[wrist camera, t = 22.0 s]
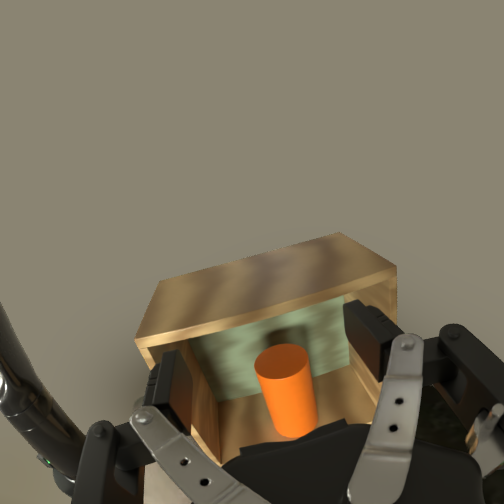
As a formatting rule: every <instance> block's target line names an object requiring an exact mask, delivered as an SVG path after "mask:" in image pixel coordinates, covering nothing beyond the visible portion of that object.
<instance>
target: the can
mask: <svg viewBox="0 0 504 504" xmlns="http://www.w3.org/2000/svg"><path fill="white" fill-rule="evenodd" d="M254 369H255V372H256V375H257V378H258V381H259V384H260V387H261V390H262V393H263V395H264V398H265V401H266V404H267V407H268V410H269V413H270V415H271V418H272V421H273V424H274V426H275V429H276V430H277V432H278V433H279V434H281V435H283V436H286V437H291V438H296V437H301V436H304V435H306V434H307V433H309V432H311V431H312V430H313V429H314V428H315V426H316V425H317V422H318V413H317V406H316V400H315V394H314V387H313V381H312V375H311V370H310V364H309V358H308V354H307V352H306V350H305V349H304V348H302V347H301V346H298V345H295V344H279V345H275V346H272V347H270V348H268V349H266V350H264V351H263V352H262V353H260V354H259V355H258V357H257V358H256V360H255V363H254Z"/></svg>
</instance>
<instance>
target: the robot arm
mask: <svg viewBox="0 0 504 504" xmlns="http://www.w3.org/2000/svg"><path fill="white" fill-rule="evenodd" d="M343 317H344V328H345V334H346V337H347V339H348V341H349V343H350V344H351V345H352V347H353V348H354V350H355V351H356V352H357V354H358V355H359V356H360V358H361V359H362V361H363V362H364V363H365V365H366V366H367V368H368V369H369V370H370V372H371V373H372V375H373V376H374V377H375V379H376V380H377V382H378V383H380V382H382V381H383V383H382V387H381V391H380V395H379V399H378V403H377V407H376V410H375V414H374V417H373V421H372V424H365V423H354V424H347V422H346V420H345V418H343V419H340V420H337V421H335V422H332V423H329V424H326V425H323V426H320V427H318V428H316V429H315V430H313V431H311V432H309V433H307V434H306V435H304V436H302V437H300V438H298V439H296V440H293V441H281V442H264V443H260V444H255V445H250V446H246V447H240V448H239V451H240V455H239V456H236V457H234V458H232V459H231V460H229V461H228V462H226V463H225V464H224V465H222V466H221V467H220V466H219V465H217V464H216V463H215V462H214V461H213V460H211V459H210V458H209V457H208V456H207V455H206V454H205V453H204V452H202V451H201V450H200V449H199V448H198V447H197V446H196V445H195V444H194V443H193V442H192V441H191V440H190V439H188V438H187V437H186V436H190V435H191V421H192V397H193V379H192V375H191V373H190V370H189V368H188V366H187V364H186V362H185V360H184V358H183V356H182V354H181V352H180V350H179V349H176V350H171V351H166V352H163V354H162V358H161V363H157V364H155V366H154V367H153V368H152V370H151V371H150V375H149V380H148V383H147V387H146V391H145V395H144V400H143V404H142V407H140V408H138V409H137V410H135V411H134V412H133V414H132V415H131V417H130V421H129V422H127V423H124V424H121V425H118V426H115V427H114V426H113V425H112V424H111V423H110V422H109V421H105V420H103V421H98V422H96V423H94V424H93V425H92V426H91V427H90V428H89V430H88V432H87V436H85V435H84V434H83V433H82V432H81V431H80V430H79V429H78V427H77V426H76V425H75V424H74V423H73V422H72V421H71V419H70V418H69V417H68V416H67V415H66V413H65V412H64V411H63V410H62V409H61V407H60V406H59V405H58V403H57V402H56V401H55V400H54V398H53V397H52V396H51V394H50V393H49V392H48V390H47V389H46V387H45V386H44V385H43V383H42V382H41V380H40V379H39V378H38V376H37V375H36V373H35V371H34V369H33V366H32V364H31V362H30V360H29V358H28V356H27V355H26V353H25V351H24V349H23V347H22V345H21V344H20V342H19V340H18V338H17V336H16V334H15V332H14V329H13V328H12V325H11V323H10V321H9V318H8V316H7V314H6V312H5V310H4V308H3V306H2V304H1V302H0V372H1V374H0V411H1V412H2V413H3V414H4V416H5V417H6V418H7V420H8V421H9V422H10V423H11V424H12V425H13V426H14V428H15V429H16V430H17V431H18V432H19V433H20V434H21V435H22V436H23V437H24V438H25V439H26V441H28V443H29V444H30V445H31V446H32V447H33V448H34V449H35V450H36V451H37V452H38V455H37V458H38V459H39V460H40V461H41V462H42V463H43V464H45V465H46V466H47V467H49V468H53V469H54V468H55V469H56V470H58V471H59V472H60V473H61V474H63V475H64V476H65V477H66V478H67V479H68V480H69V481H71V482H73V483H75V485H74V490H73V496H72V501H71V504H143V498H144V475H145V465H148V464H151V463H154V462H157V463H158V464H159V465H160V466H161V468H162V469H163V470H164V471H165V472H166V474H167V475H168V476H169V477H170V478H171V479H172V480H173V482H174V483H175V484H176V485H177V486H178V487H179V488H180V489H181V490H182V491H183V493H184V494H185V495H186V496H187V497H188V498H189V499H190V500H191V501H192V503H191V504H485V501H484V497H483V490H482V481H483V480H484V479H486V478H487V477H488V476H490V475H491V474H492V473H493V472H495V471H496V470H497V469H499V470H500V469H504V363H503V362H502V361H501V360H500V359H499V358H498V357H497V356H496V355H495V354H494V353H493V352H492V351H491V350H490V349H488V348H487V347H486V346H485V345H484V344H483V343H482V342H481V341H480V340H479V339H477V338H476V337H475V336H474V335H473V334H472V333H471V332H469V331H468V330H467V329H466V328H465V327H464V326H462V325H459V324H448V325H445V326H444V327H442V328H441V330H440V333H439V337H434V338H430V339H425V340H422V338H421V337H420V336H418V335H415V334H411V333H406V334H405V333H404V332H403V331H402V330H401V329H400V328H399V327H398V326H397V325H396V324H395V323H394V322H393V321H392V320H391V319H389V318H388V317H387V316H386V315H385V314H384V313H383V312H382V311H381V310H380V309H379V308H376V307H374V306H371V305H369V306H365V305H364V304H363V303H362V302H361V301H360V300H359V299H356V300H353V301H350V302H347V303H344V304H343ZM432 384H433V385H434V386H435V388H436V389H437V390H438V392H439V393H440V394H441V396H442V397H443V398H444V400H445V401H446V402H447V404H448V405H449V406H450V408H451V409H452V410H453V412H454V413H455V414H456V416H457V417H458V419H459V420H460V421H461V423H462V424H463V426H464V427H465V428H466V430H467V431H468V433H467V435H466V440H465V441H466V446H467V448H468V452H469V454H468V453H466V452H463V451H459V450H455V449H451V448H447V447H443V446H439V445H436V444H432V443H429V442H425V441H422V440H418V439H415V433H416V428H417V422H418V415H419V408H420V401H421V392H422V387H424V386H428V385H432Z"/></svg>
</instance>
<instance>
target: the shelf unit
mask: <svg viewBox="0 0 504 504" xmlns="http://www.w3.org/2000/svg"><path fill="white" fill-rule="evenodd" d="M396 276H397V268H396V265H394V264H393V263H391V262H389V261H388V260H386V259H385V258H383V257H381V256H380V255H378V254H376V253H374V252H373V251H371V250H370V249H368V248H366V247H364V246H362V245H361V244H359V243H358V242H356V241H354V240H352V239H351V238H349V237H347V236H345V235H344V234H342V233H340V232H338V233H334V234H331V235H327V236H324V237H320V238H316V239H313V240H309V241H305V242H302V243H298V244H295V245H291V246H287V247H284V248H280V249H277V250H273V251H269V252H265V253H262V254H258V255H254V256H251V257H247V258H243V259H240V260H236V261H233V262H229V263H225V264H221V265H218V266H214V267H210V268H207V269H203V270H199V271H196V272H192V273H188V274H184V275H181V276H177V277H174V278H170V279H166V280H162V281H159V283H158V286H157V288H156V290H155V292H154V294H153V296H152V299H151V301H150V303H149V305H148V308H147V310H146V312H145V314H144V317H143V319H142V321H141V324H140V326H139V329H138V331H137V333H136V336H135V338H134V341H135V342H136V344H137V346H138V348H139V350H140V352H141V354H142V356H143V358H144V360H145V361H146V363H147V365H148V367H149V369H150V370H152V368H153V367H154V366H155V364H157V363H161V358H162V354H163V352H166V351H171V350H176V349H179V350H180V352H181V354H182V356H183V358H184V360H185V362H186V364H187V366H188V368H189V370H190V373H191V375H192V379H193V397H192V421H191V435H192V436H193V437H194V439H195V440H196V442H197V443H198V444H199V446H200V447H201V448H202V450H203V451H204V452H205V454H206V455H207V456H208V457H209V458H210V459H211V460H213V461H214V462H215V463H216V464H217V465H219V466H220V467H221V466H222V465H224V464H225V463H226V462H228V461H229V460H231V459H232V458H234V457H236V456H239V455H240V451H239V448H240V447H246V446H250V445H255V444H260V443H264V442H281V441H293V440H296V439H298V438H300V437H296V438H291V437H286V436H283V435H281V434H279V433H278V432H277V430H276V429H275V426H274V424H273V421H272V418H271V415H270V413H269V410H268V407H267V404H266V401H265V398H264V395H263V393H262V390H261V387H260V384H259V381H258V378H257V375H256V372H255V369H254V363H255V360H256V358H257V357H258V355H259V354H260V353H262V352H263V351H264V350H266V349H268V348H270V347H272V346H275V345H279V344H295V345H298V346H301V347H302V348H304V349H305V350H306V352H307V354H308V358H309V364H310V370H311V375H312V381H313V387H314V394H315V400H316V406H317V413H318V422H317V425H316V426H315V428H314V429H313V430H315V429H316V428H318V427H320V426H323V425H326V424H329V423H332V422H335V421H337V420H340V419H343V418H345V420H346V422H347V424H354V423H365V424H372V421H373V417H374V414H375V410H376V407H377V403H378V399H379V395H380V391H381V387H382V383H383V381H382V382H380V383H378V382H377V380H376V379H375V377H374V376H373V375H372V373H371V372H370V370H369V369H368V368H367V366H366V365H365V363H364V362H363V361H362V359H361V358H360V356H359V355H358V354H357V352H356V351H355V350H354V348H353V347H352V345H351V344H350V343H349V341H348V339H347V337H346V334H345V328H344V317H343V304H344V303H347V302H350V301H353V300H356V299H359V300H360V301H361V302H362V303H363V304H364V305H365V306H369V305H371V306H374V307H376V308H379V309H380V310H381V311H382V312H383V313H384V314H385V315H386V316H387V317H388V318H389V319H391V320H392V321H393V322H394V323H395V324H396V325H397V277H396ZM313 430H312V431H313ZM301 437H302V436H301Z"/></svg>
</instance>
